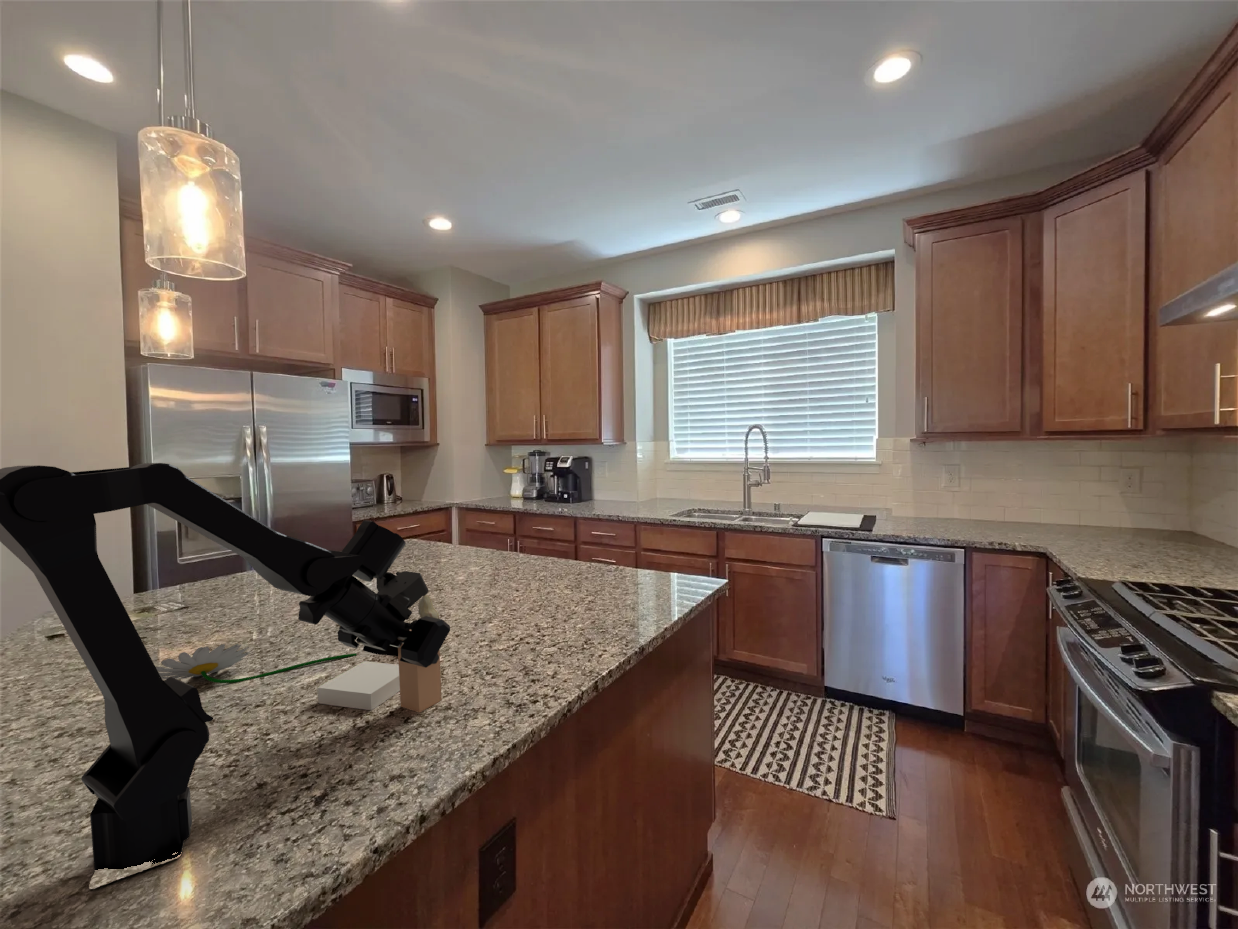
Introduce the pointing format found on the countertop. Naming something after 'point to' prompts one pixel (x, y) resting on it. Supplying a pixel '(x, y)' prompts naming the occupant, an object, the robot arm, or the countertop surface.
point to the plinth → (361, 686)
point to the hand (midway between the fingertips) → (426, 657)
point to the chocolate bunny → (427, 608)
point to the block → (419, 684)
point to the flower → (218, 663)
